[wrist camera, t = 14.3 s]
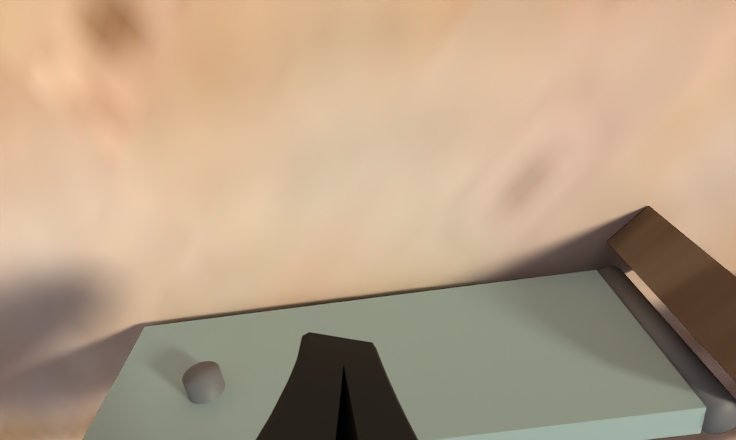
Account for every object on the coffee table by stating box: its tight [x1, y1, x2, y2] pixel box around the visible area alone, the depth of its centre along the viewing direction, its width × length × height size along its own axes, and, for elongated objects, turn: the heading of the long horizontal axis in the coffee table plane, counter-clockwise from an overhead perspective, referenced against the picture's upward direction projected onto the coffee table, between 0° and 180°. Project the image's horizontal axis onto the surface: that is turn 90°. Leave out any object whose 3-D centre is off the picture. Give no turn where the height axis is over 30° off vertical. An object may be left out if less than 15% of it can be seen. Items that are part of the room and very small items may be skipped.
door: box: [83, 266, 736, 440], centre depth 18 cm, size 19×2×7 cm, turn 97°
